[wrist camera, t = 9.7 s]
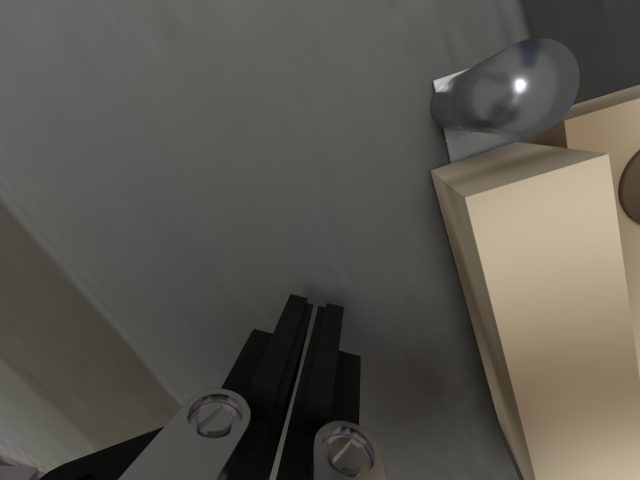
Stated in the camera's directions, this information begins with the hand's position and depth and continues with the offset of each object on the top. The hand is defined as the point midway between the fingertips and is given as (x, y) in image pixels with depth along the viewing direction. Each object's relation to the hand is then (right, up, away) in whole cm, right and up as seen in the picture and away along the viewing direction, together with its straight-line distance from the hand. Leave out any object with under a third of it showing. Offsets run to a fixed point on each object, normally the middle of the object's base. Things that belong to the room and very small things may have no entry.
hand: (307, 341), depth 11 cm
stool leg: (+6, +1, 0) cm, 7 cm away
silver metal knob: (+4, +7, -1) cm, 8 cm away
